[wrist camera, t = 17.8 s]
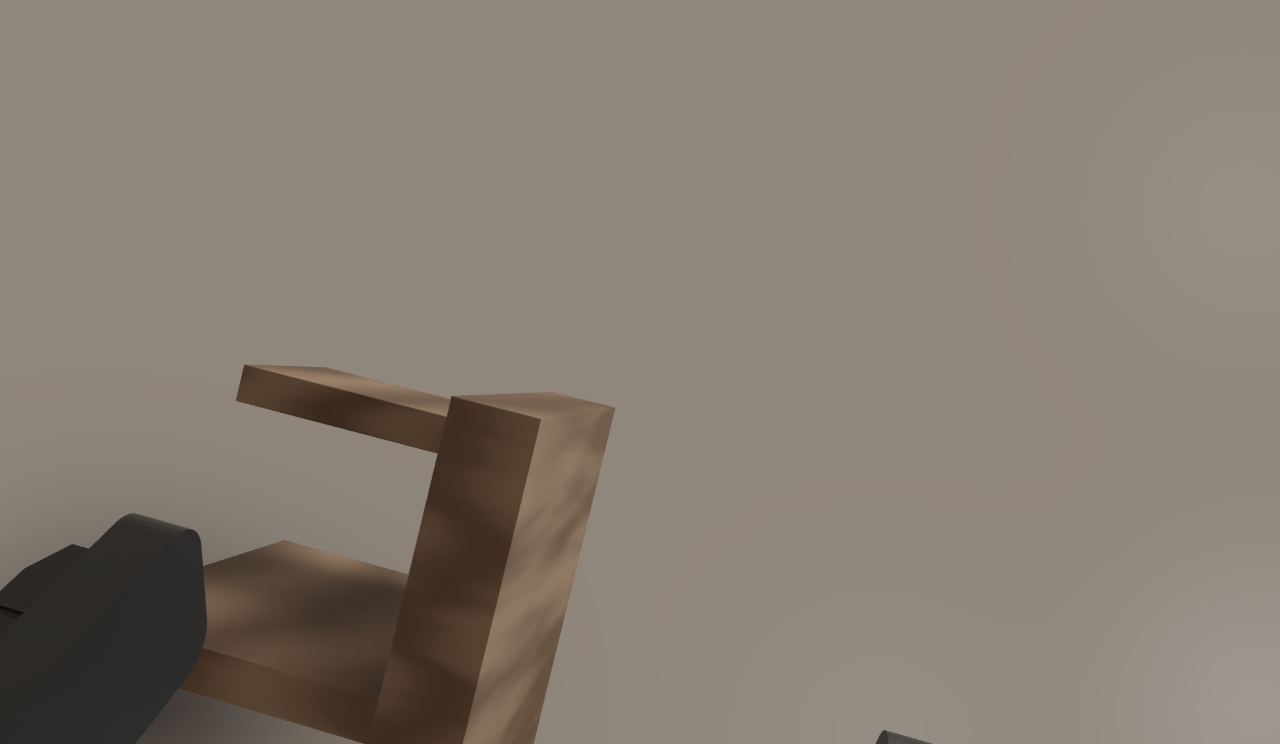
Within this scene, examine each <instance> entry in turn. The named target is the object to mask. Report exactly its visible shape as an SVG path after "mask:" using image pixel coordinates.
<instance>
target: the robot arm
mask: <svg viewBox="0 0 1280 744" xmlns="http://www.w3.org/2000/svg"><path fill="white" fill-rule="evenodd" d="M206 632H207V611H206V599H205V586H204V573H203V561H202V549H201V541H200V537H199V535H198V533H197V532H196V531H194V530H192V529H188V528H185V527H181V526H178V525H174V524H171V523H167V522H164V521H160V520H157V519H153V518H150V517H146V516H143V515H139V514H129V515H126V516H124V517H122V518H121V519H119V520H118V521H117V522H116V523H115V524H114V525H113V526H112V527H111V528H110V529H109V530H108V531H107V532H106V533H105V534H104V535H103V536H102V537H101V538H100V539H99V540H98V541H97V542H95V543H94V544H93V545H92V546H91V547H90V548H89V549H87V548H84V547H80V546H77V545H74V544H72V545H70V546H68V547H66V548H64V549H62V550H60V551H58V552H56V553H54V554H52V555H50V556H48V557H46V558H44V559H42V560H40V561H38V562H36V563H34V564H32V565H30V566H28V567H27V568H25V569H24V570H22V571H21V572H20V573H19V574H18V575H17V576H16V577H15V578H14V579H13V580H12V581H11V582H9V583H8V584H7V585H6V586H5V587H4V588H3V589H2V590H1V591H0V744H135V743H136V742H137V740H138V739H139V738H140V737H141V736H142V734H143V733H144V732H145V730H146V729H147V728H148V727H149V725H150V724H151V723H152V721H153V720H154V719H155V718H156V716H157V715H158V714H159V712H160V711H161V710H162V709H163V707H164V706H165V705H166V704H167V702H168V701H169V700H170V698H171V697H172V696H173V695H174V693H175V692H176V691H177V689H178V688H179V687H180V686H181V684H182V683H183V682H184V680H185V679H186V678H187V676H188V675H189V674H190V672H191V671H192V669H193V667H194V666H195V664H196V662H197V660H198V657H199V655H200V653H201V650H202V647H203V644H204V641H205V637H206ZM876 744H931V743H927V742H924V741H921V740H917V739H914V738H910V737H907V736H903V735H899V734H896V733H893V732H889V731H886V730H884V731H883V732H882V733H881V734H880V736H879V738H878V740H877V742H876Z"/></svg>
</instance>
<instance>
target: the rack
mask: <svg viewBox="0 0 1280 744" xmlns="http://www.w3.org/2000/svg"><path fill="white" fill-rule="evenodd" d="M236 401H239V402H243V403H247V404H250V405H254V406H258V407H262V408H266V409H269V410H273V411H277V412H281V413H285V414H288V415H293V416H296V417H300V418H304V419H308V420H311V421H315V422H319V423H323V424H327V425H331V426H334V427H338V428H342V429H346V430H350V431H353V432H358V433H361V434H365V435H369V436H373V437H376V438H380V439H384V440H388V441H392V442H396V443H400V444H403V445H407V446H411V447H415V448H419V449H423V450H426V451H430V452H434V453H438V455H437V459H436V463H435V468H434V472H433V476H432V480H431V484H430V488H429V492H428V497H427V501H426V505H425V509H424V513H423V517H422V522H421V526H420V530H419V534H418V538H417V543H416V547H415V551H414V555H413V559H412V563H411V567H410V572H409V575H408V574H404V573H401V572H397V571H393V570H390V569H386V568H383V567H379V566H375V565H372V564H368V563H365V562H361V561H357V560H354V559H350V558H347V557H343V556H339V555H335V554H332V553H328V552H325V551H321V550H318V549H314V548H310V547H307V546H303V545H299V544H296V543H292V542H288V541H285V540H284V541H281V542H277V543H275V544H271V545H268V546H265V547H262V548H259V549H256V550H252V551H249V552H246V553H243V554H240V555H237V556H234V557H231V558H227V559H224V560H221V561H218V562H215V563H212V564H209V565H206V566H203V573H204V586H205V599H206V611H207V632H206V637H205V641H204V644H203V647H202V650H201V653H200V655H199V657H198V660H197V662H196V664H195V666H194V667H193V669H192V671H191V672H190V674H189V675H188V676H187V678H186V679H185V680H184V682H183V683H182V684H181V686H180V687H179V688H180V689H183V690H186V691H190V692H193V693H196V694H200V695H203V696H207V697H210V698H213V699H216V700H220V701H223V702H227V703H230V704H233V705H237V706H240V707H243V708H247V709H250V710H253V711H257V712H261V713H264V714H267V715H270V716H274V717H277V718H280V719H284V720H287V721H290V722H294V723H297V724H301V725H304V726H307V727H311V728H314V729H317V730H321V731H324V732H327V733H330V734H334V735H337V736H341V737H344V738H347V739H351V740H354V741H357V742H361V743H364V744H534V740H535V735H536V731H537V727H538V723H539V719H540V715H541V711H542V706H543V702H544V698H545V694H546V690H547V686H548V681H549V678H550V674H551V669H552V666H553V661H554V657H555V653H556V649H557V645H558V641H559V637H560V633H561V628H562V624H563V620H564V616H565V612H566V608H567V604H568V599H569V596H570V591H571V587H572V583H573V579H574V575H575V571H576V567H577V562H578V558H579V554H580V550H581V546H582V542H583V538H584V534H585V530H586V526H587V522H588V517H589V513H590V509H591V505H592V501H593V497H594V493H595V488H596V484H597V480H598V476H599V472H600V468H601V463H602V460H603V456H604V452H605V447H606V443H607V439H608V435H609V431H610V427H611V423H612V419H613V415H614V411H615V408H614V407H610V406H606V405H602V404H598V403H594V402H590V401H586V400H582V399H578V398H574V397H570V396H566V395H562V394H558V393H554V392H546V393H520V394H496V395H469V396H452V397H451V399H447V398H443V397H439V396H435V395H431V394H427V393H423V392H419V391H415V390H411V389H408V388H404V387H400V386H396V385H392V384H388V383H384V382H380V381H376V380H372V379H368V378H364V377H360V376H357V375H353V374H349V373H345V372H341V371H337V370H333V369H329V368H321V367H295V366H267V365H244V368H243V373H242V377H241V381H240V385H239V390H238V394H237V398H236Z"/></svg>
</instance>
